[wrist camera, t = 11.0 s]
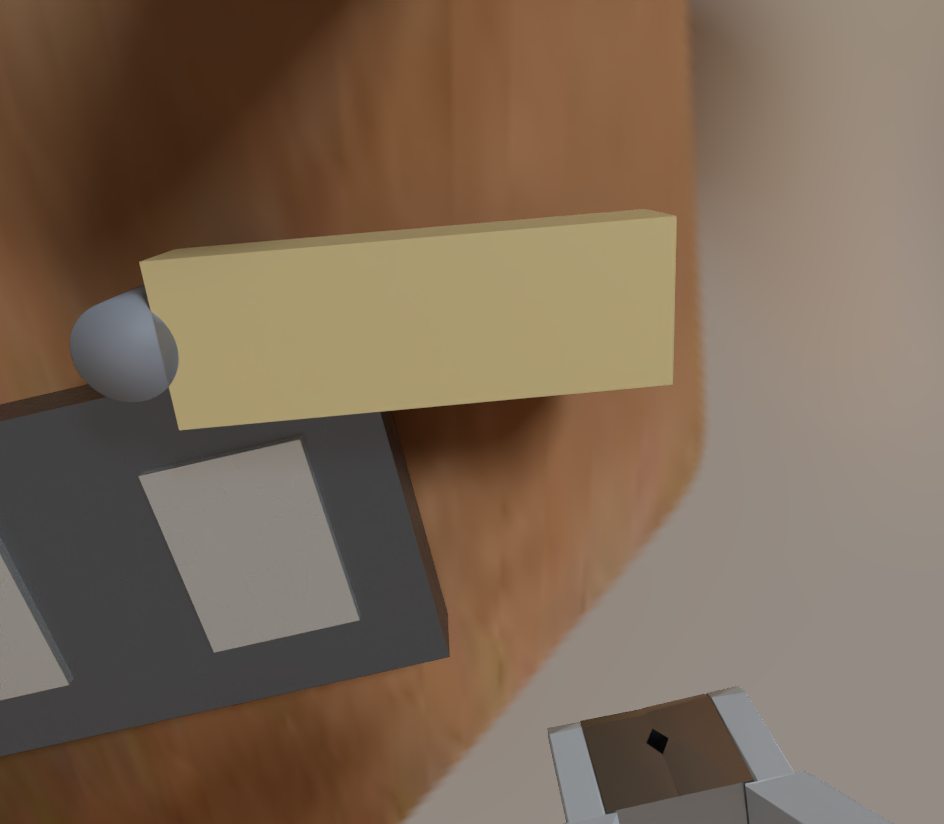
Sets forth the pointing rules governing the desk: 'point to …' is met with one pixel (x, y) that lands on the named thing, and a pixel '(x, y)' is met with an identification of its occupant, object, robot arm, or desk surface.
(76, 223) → the desk surface
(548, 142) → the desk surface
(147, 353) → the beige block
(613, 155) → the desk surface
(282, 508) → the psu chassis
